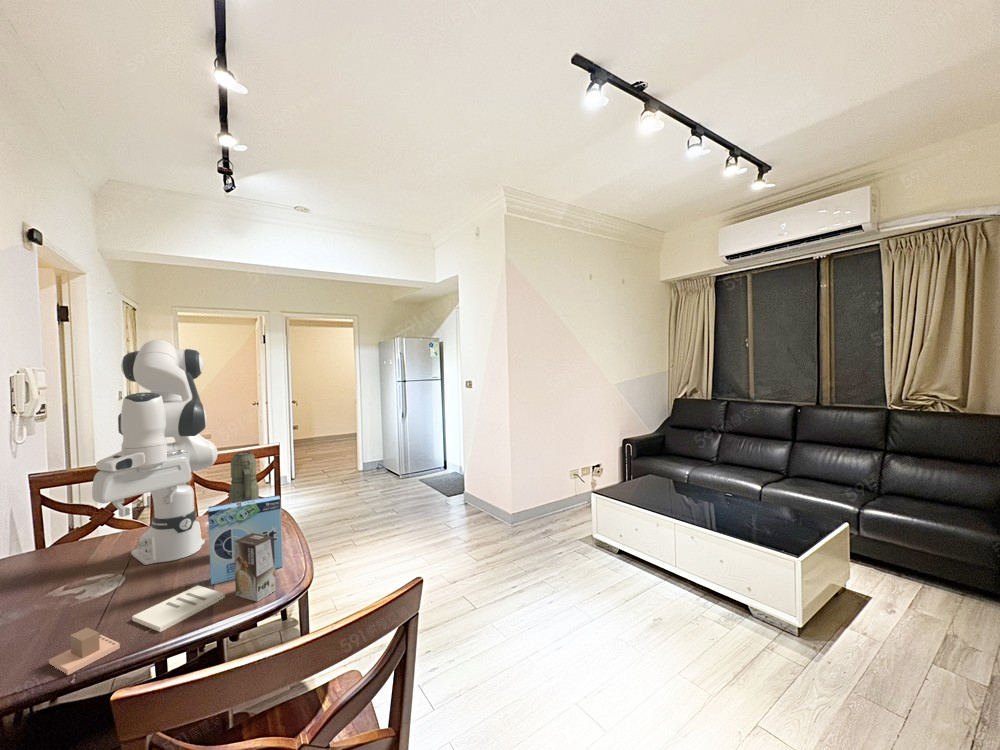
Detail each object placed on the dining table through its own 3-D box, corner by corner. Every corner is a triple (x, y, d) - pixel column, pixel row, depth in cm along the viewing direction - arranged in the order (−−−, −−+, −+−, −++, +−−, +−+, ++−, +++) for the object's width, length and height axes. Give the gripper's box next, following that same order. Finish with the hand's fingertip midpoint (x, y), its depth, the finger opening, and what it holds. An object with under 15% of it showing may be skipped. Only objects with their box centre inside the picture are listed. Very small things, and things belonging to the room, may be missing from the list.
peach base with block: (49, 664, 91) (48, 641, 91) (101, 639, 100) (100, 618, 100) (67, 675, 88) (66, 651, 88) (119, 648, 97) (119, 626, 96)
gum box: (281, 561, 138) (279, 494, 138) (282, 568, 134) (281, 498, 134) (210, 578, 128) (208, 505, 127) (210, 586, 124) (207, 510, 123)
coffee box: (277, 590, 121) (275, 536, 120) (257, 602, 115) (255, 545, 114) (254, 584, 124) (253, 532, 124) (234, 596, 118) (232, 541, 118)
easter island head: (237, 561, 139) (235, 458, 138) (225, 551, 146) (223, 453, 145) (266, 551, 146) (263, 453, 145) (253, 542, 153) (250, 449, 152)
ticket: (132, 620, 107) (132, 615, 107) (197, 589, 122) (197, 584, 122) (160, 632, 102) (160, 626, 102) (224, 598, 117) (224, 593, 117)
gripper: (181, 447, 117) (183, 495, 117) (87, 464, 98) (89, 521, 98) (196, 449, 114) (197, 498, 115) (101, 466, 96) (104, 525, 96)
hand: (146, 509), depth 106 cm, fingers open, 8 cm apart
